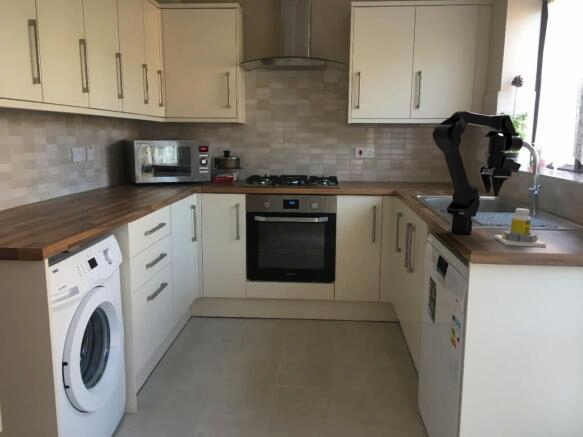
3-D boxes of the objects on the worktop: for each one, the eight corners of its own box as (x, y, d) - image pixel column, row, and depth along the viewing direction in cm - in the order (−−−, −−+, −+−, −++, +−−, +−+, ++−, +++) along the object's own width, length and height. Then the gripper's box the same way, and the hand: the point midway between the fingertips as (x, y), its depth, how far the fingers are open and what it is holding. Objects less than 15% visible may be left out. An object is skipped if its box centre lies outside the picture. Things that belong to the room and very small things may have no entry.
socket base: (505, 244, 147) (506, 235, 146) (494, 237, 157) (495, 228, 157) (545, 247, 145) (546, 237, 145) (531, 239, 156) (532, 230, 156)
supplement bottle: (526, 241, 148) (529, 211, 146) (507, 239, 151) (511, 209, 149) (530, 239, 152) (533, 209, 150) (512, 236, 155) (515, 207, 153)
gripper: (530, 152, 156) (524, 199, 159) (510, 151, 174) (505, 192, 177) (495, 151, 157) (490, 197, 160) (479, 150, 175) (475, 191, 178)
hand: (491, 194), depth 169 cm, fingers open, 9 cm apart
